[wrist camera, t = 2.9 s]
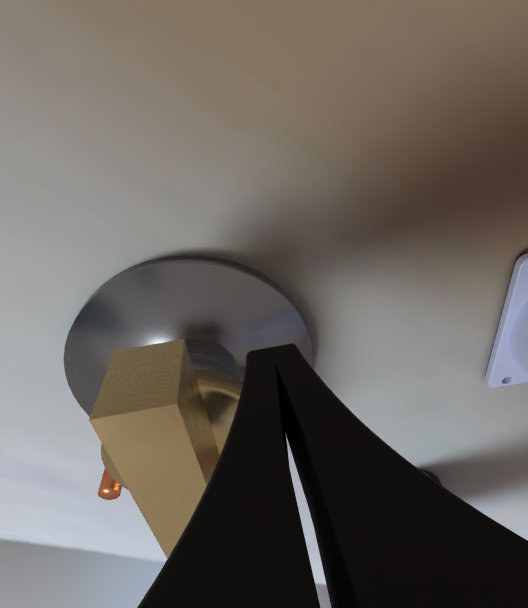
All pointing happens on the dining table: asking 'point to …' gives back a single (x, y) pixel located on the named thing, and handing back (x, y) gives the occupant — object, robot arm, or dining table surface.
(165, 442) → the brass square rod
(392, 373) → the dining table surface
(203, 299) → the post base
